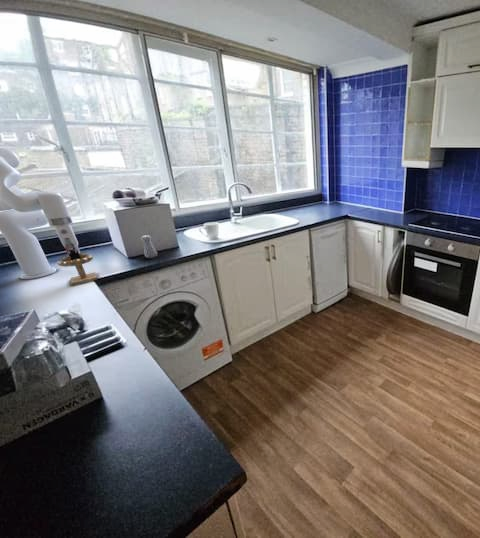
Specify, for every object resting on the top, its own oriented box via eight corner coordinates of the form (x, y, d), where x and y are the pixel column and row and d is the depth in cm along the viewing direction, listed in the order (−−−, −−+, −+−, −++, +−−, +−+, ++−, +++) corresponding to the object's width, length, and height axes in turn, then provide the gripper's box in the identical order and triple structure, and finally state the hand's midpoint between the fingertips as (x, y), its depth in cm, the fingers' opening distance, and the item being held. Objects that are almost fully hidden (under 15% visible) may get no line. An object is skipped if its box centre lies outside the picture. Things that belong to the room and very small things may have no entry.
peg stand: (71, 280, 138) (62, 259, 134) (96, 274, 143) (88, 254, 140) (72, 285, 132) (62, 264, 128) (97, 279, 137) (89, 259, 133)
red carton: (72, 254, 173) (64, 235, 169) (83, 253, 174) (75, 234, 170) (66, 257, 168) (57, 237, 164) (77, 256, 170) (69, 236, 165)
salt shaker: (143, 260, 161) (135, 237, 156) (152, 256, 166) (145, 234, 161) (152, 260, 159) (144, 237, 154) (160, 257, 165) (154, 234, 160)
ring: (59, 262, 135) (57, 257, 134) (92, 256, 142) (90, 251, 141) (59, 269, 127) (57, 264, 126) (94, 262, 134) (92, 257, 133)
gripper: (72, 222, 127) (88, 262, 134) (71, 217, 138) (85, 254, 145) (48, 225, 123) (65, 266, 130) (48, 220, 133) (65, 257, 140)
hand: (76, 259), depth 137 cm, fingers closed on ring, 2 cm apart
